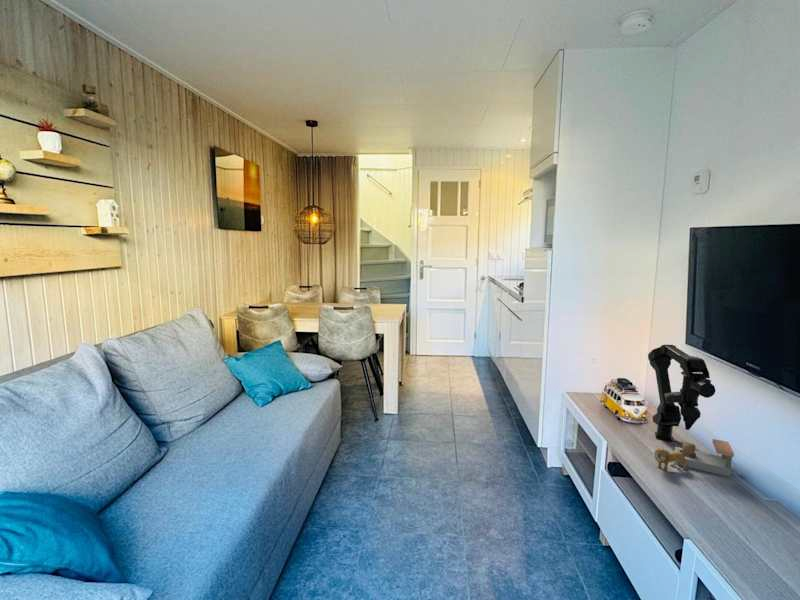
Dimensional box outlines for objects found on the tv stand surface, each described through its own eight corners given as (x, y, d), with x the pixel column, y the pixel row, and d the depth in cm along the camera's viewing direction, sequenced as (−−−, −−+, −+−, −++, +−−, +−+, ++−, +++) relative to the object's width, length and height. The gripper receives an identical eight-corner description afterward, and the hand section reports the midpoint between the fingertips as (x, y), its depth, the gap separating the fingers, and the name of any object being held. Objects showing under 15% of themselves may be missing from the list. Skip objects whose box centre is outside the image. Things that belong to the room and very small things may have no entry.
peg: (680, 457, 171) (682, 441, 170) (692, 460, 169) (694, 443, 168) (681, 462, 168) (683, 445, 167) (693, 465, 166) (695, 448, 165)
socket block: (674, 453, 175) (675, 446, 174) (725, 464, 166) (726, 457, 166) (676, 464, 166) (677, 457, 165) (730, 476, 158) (731, 469, 157)
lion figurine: (660, 475, 158) (663, 452, 157) (648, 467, 163) (651, 445, 162) (690, 469, 162) (693, 447, 161) (678, 462, 167) (680, 441, 166)
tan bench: (709, 460, 169) (712, 438, 168) (725, 464, 167) (728, 442, 166) (714, 473, 160) (717, 450, 158) (730, 477, 157) (734, 454, 156)
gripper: (665, 378, 183) (661, 413, 185) (668, 391, 167) (663, 429, 169) (696, 383, 178) (692, 419, 180) (702, 397, 161) (697, 436, 164)
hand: (685, 425), depth 173 cm, fingers open, 9 cm apart
